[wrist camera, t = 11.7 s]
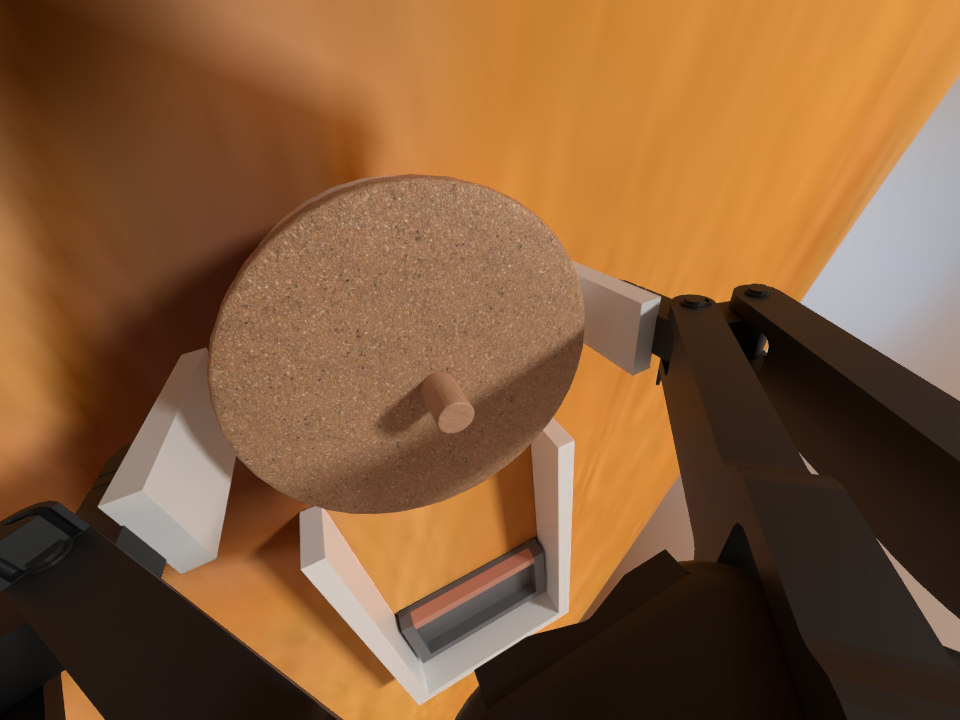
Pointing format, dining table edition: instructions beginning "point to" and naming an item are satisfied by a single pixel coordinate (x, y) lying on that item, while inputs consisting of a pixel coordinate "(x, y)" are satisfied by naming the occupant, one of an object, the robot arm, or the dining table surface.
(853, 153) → the dining table surface
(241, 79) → the dining table surface
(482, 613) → the tray
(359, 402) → the lidded jar
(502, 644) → the channel
